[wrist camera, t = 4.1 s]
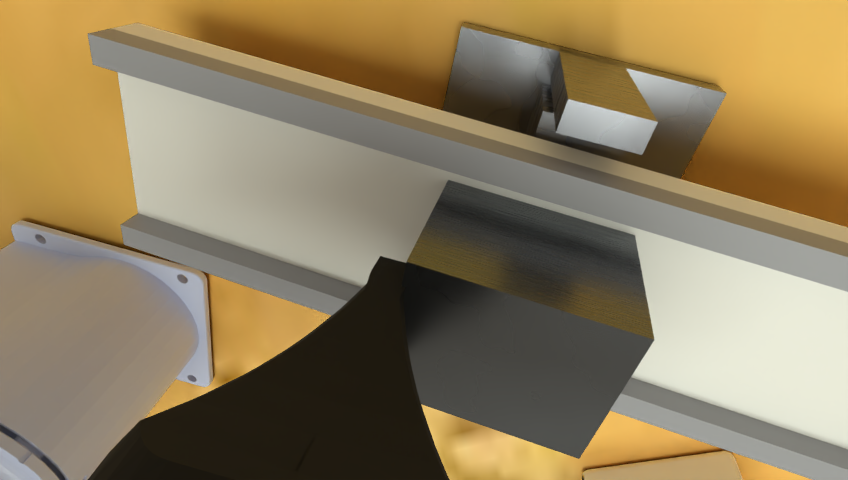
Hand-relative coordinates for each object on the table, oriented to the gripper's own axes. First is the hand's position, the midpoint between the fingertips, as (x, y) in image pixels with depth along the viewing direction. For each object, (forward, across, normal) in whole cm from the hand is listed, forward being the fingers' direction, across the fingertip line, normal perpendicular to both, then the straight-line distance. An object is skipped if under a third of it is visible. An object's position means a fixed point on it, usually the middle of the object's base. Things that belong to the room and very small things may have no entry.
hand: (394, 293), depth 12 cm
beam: (+5, -4, 0) cm, 7 cm away
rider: (+2, -3, 0) cm, 4 cm away
